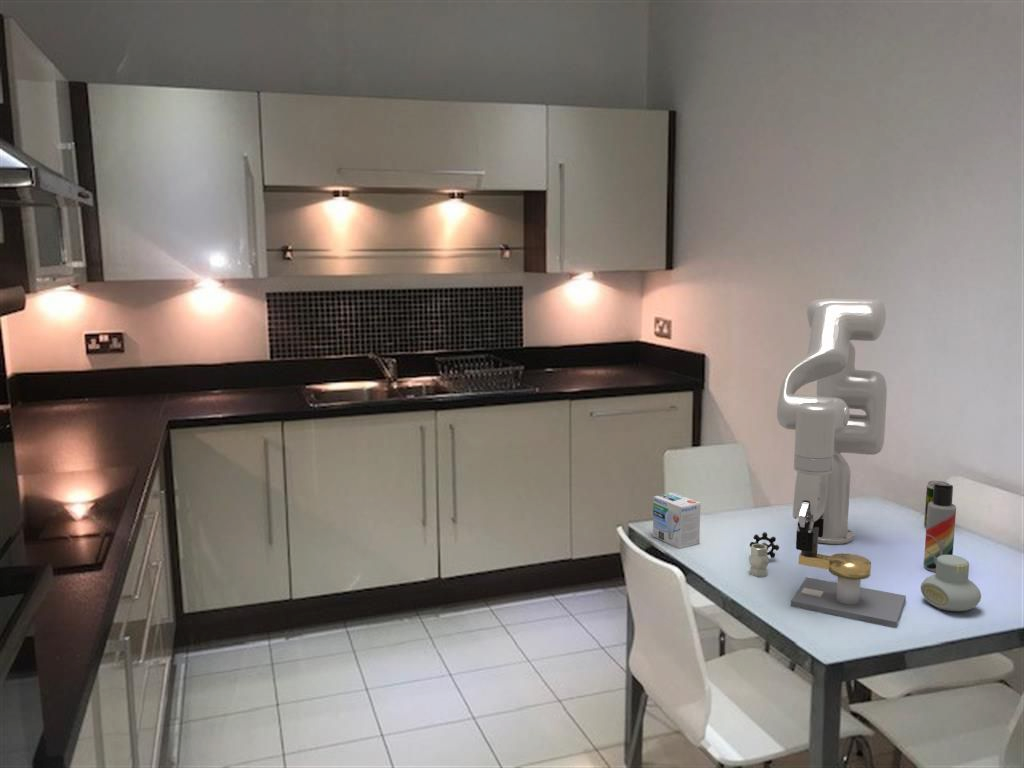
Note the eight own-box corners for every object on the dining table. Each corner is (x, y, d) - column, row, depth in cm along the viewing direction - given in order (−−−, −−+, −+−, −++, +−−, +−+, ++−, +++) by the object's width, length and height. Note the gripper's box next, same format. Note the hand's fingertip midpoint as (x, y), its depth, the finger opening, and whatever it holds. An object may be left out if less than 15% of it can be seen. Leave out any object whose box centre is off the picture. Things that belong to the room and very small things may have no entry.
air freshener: (987, 613, 171) (991, 565, 169) (956, 620, 168) (960, 572, 166) (942, 592, 181) (946, 547, 179) (912, 598, 178) (915, 553, 176)
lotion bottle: (924, 571, 192) (930, 486, 188) (922, 562, 197) (928, 479, 193) (953, 574, 190) (959, 488, 186) (949, 565, 195) (956, 481, 192)
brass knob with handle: (804, 556, 182) (805, 520, 181) (873, 568, 175) (875, 530, 174) (795, 569, 176) (797, 531, 174) (866, 582, 169) (869, 543, 167)
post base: (806, 582, 187) (807, 551, 186) (905, 601, 177) (907, 569, 176) (790, 606, 175) (791, 574, 174) (896, 627, 165) (898, 593, 164)
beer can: (938, 524, 222) (941, 479, 220) (951, 531, 217) (955, 485, 215) (919, 525, 221) (922, 481, 219) (932, 532, 216) (935, 487, 214)
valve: (772, 579, 189) (778, 560, 200) (773, 551, 188) (779, 533, 199) (741, 575, 192) (749, 556, 203) (742, 547, 191) (750, 530, 201)
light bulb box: (651, 536, 217) (652, 495, 215) (671, 531, 220) (672, 491, 218) (680, 549, 208) (680, 507, 206) (700, 544, 211) (701, 502, 209)
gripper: (804, 451, 183) (800, 528, 186) (784, 470, 169) (780, 552, 172) (840, 456, 180) (836, 533, 182) (823, 475, 165) (819, 559, 168)
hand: (809, 543), depth 177 cm, fingers open, 9 cm apart
